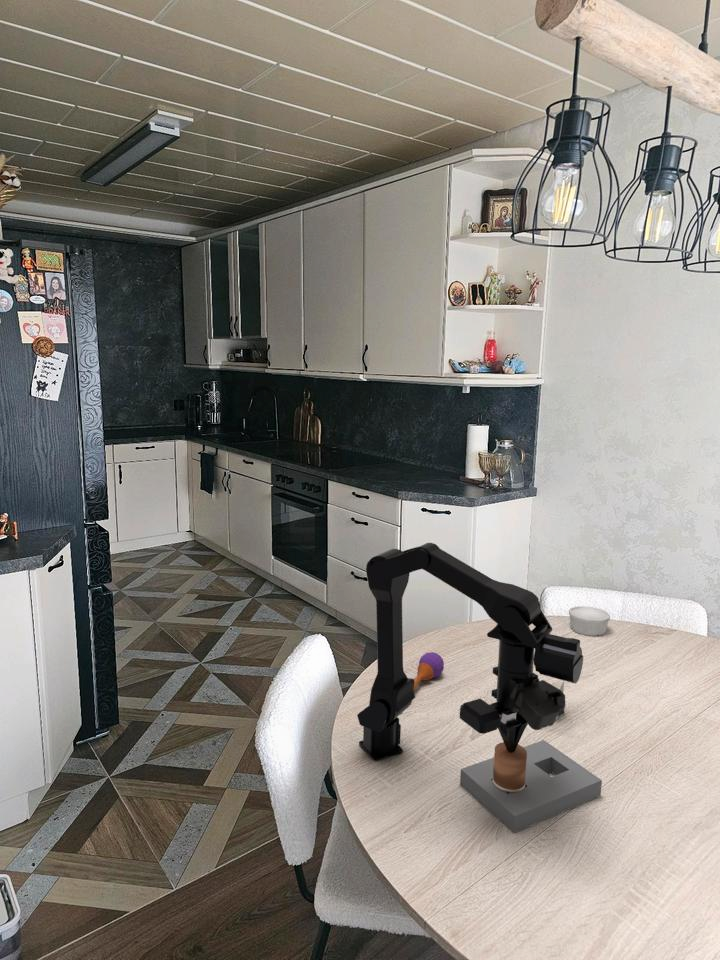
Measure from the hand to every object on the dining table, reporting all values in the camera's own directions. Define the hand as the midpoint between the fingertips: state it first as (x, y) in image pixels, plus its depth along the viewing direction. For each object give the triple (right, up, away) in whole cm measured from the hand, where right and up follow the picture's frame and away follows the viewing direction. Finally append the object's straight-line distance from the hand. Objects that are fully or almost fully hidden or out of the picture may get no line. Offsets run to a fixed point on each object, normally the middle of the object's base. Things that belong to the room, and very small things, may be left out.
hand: (510, 751), depth 112 cm
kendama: (-12, -2, +40) cm, 42 cm away
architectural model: (+16, -5, +30) cm, 34 cm away
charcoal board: (+4, -8, +4) cm, 10 cm away
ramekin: (+40, +3, +76) cm, 86 cm away
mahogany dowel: (0, -9, +1) cm, 9 cm away
